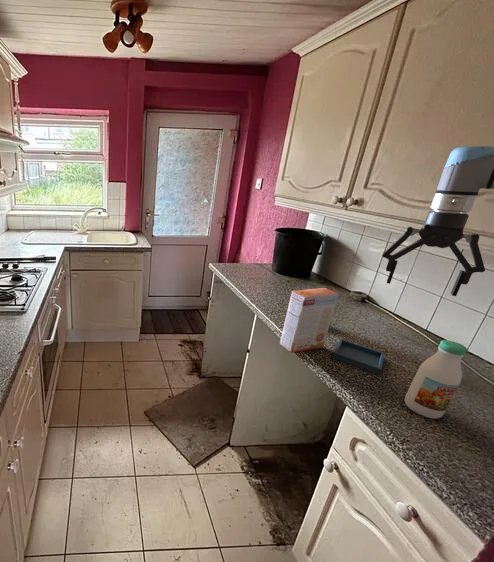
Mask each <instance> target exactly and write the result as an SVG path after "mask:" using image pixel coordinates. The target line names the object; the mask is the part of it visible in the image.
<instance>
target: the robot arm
mask: <svg viewBox="0 0 494 562" xmlns="http://www.w3.org/2000/svg"><path fill="white" fill-rule="evenodd" d="M481 189H483V190H484V189H485V190H494V146H490V145H488V146H487V145H485V146H484V145H480V146H479V145H475V146H473V145H472V146H459V147H456V148H454V149H453V150H452V151H451V152H450V154H449V156H448V158H447V160H446V164H445V165H444V166H443V169H442V173H441V176H440V179H439V182H438V184H437V188H436V191H435V193H434V196H433V199H432V201H431V204H430V206H429V208H430V210H429V211H428V212H427V215H426V217H425V220H424V223H423V226H422V227H421V228H415V227H412V226H407V227H406V229H405V231H404V233H403V234H402V235H401V236H400V237H399V238H397V239H396V240H395V242H393V243H392V244H391V245H390V246H388V248H387V249H386V250H385V251H384V252H382V258H384V259H386V260H388V261H387V264H386V268H385V271H386V272H389V274H388V276H387V280H386V284H389V285H390V284H391V282H392V279H393V276H394V273H395V271H396V268H397V265H398V259H399V258H401V257H403V256H405V255H407V254H408V253H411V252H412V251H414V250H416V249H419V248H420V247H422V246H424V245H425V246H427V247H430V248H434V247H435V248H439V249H447V248H449V249H450V250H451V251H452V253H453V254H454V256H455V257H456V259H457V261H458V262H459V263H460V265H461V266H462V267H463V269H464V270H461V269H460V270H459V272H458V275H457V277H456V279H455V282H454V284H453V287H452V289H451V291H450V295H451V296H452V297H457V295H458V293H459V291H460V288H461V287H462V285H465V286H467V285H468V284H469V282H470V279H471V277H472V275H473V274H475V273H484V272H485V271H486V267H485V263H484V261H483V257H482V253H481V250H480V247H479V241H480V235H479V234H478V233H476V232H473V233H472V232H471V233H464V229H465V227H466V224H467V223H468V222H467V221H468V219H469V216H470V215H469V214H468V213H470V212H472V210H473V207H474V204H475V201H476V199H477V197H478V195H479V192H480V190H481ZM415 234H418V236H419V237H420V238H419V239H417V240H416V241H414V242H413V243H411V244H409V245H407V246H406V247H404V248H402V249H400V250H399V251H397V252H395V253H393V252H394V251H396V250H397V249H398V248H399V247H400V246H401V245H402V244H403V243H404V242H405V241H407V240H408V239H409V238H410V236H411V237H412V236H415ZM462 239H465V242H466V243H468V244H469V248H470V251H471V252H470V253H471V255H472V259H473V262H474V266H471V264H470V263H469V261H468V259H466V257H465V256H464V255H463V253H462V251H461V250H460V249H459V247H458V246H457V244H456V243H457V242H459V241H461V240H462Z"/></svg>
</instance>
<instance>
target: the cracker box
mask: <svg viewBox="0 0 494 562" xmlns="http://www.w3.org/2000/svg"><path fill="white" fill-rule="evenodd" d="M339 295H340V294H339V293H338V292H336V291H333V290H331V289H329V288H327V287H320V288H319V287H318V288H310V289H309V288H308V289H299V290H292V291H291V294H290V297H289V302H288V307H287V311H286V314H285V315H286V316H285V319H284V322H283V323H284V324H283V327H282V332H281V336H280V340H279V345H280V346H281V347H282V348H284V349H285V350H287V351H288V352H290V353H296V352H297V353H298V352H304V351H309V350H310V351H311V350H316V349H321V348H324V345H325V342H326V339H327V336H328V333H329V329H330V324H331V322H332V319H333V316H334V312H335V309H336V305H337V302H338V299H339Z"/></svg>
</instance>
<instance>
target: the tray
mask: <svg viewBox="0 0 494 562" xmlns="http://www.w3.org/2000/svg"><path fill="white" fill-rule="evenodd" d="M384 358H385V352H383V351H380V350H376V349H373V348H371V347H367V346H365V345H364V346H363V345H361V344H358V343H355V342H352V341H349V340H347V339H346V340H345V339H344V338H343V339H342V338H340V339H339V341H338V344H337V346H336V348H335V351H334V353H333V356H332V359H335V360H338V361H339V362H342V363H346V364H348V365H352V366H353V367H356V368H359V369H361V370H365V371H366V372H367V371H368V372H370V373H373V374H376V375H379V376H380V374H381V372H382V369H383V363H384Z"/></svg>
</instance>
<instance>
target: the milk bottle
mask: <svg viewBox="0 0 494 562" xmlns="http://www.w3.org/2000/svg"><path fill="white" fill-rule="evenodd" d="M437 349H438V350H437V351H436V352H435V353H434V354H433V355H431V356H430V357H428V358H427V359H425V360H424V361H423V362H422V363H421V364H420V366H419V367H418V369H417V371H416V373H415V376H414V377H413V379H412V381H411V383H410V386H409V388H408V389H407V392H406V394H405V396H404V403H405V405H406V406H407V408H409V409H410V410H412V411H413V412H414V413H416V414H418V415H420V416H423V417H426V418H429V419H436V420H437V419H440V418H442V417H443V416H444V415H445V413H446V411H447V409H448V407H449V405H450V404H451V402H452V400H453V398H454V396H455V394H456V392H457V391H458V388H459V386H460V384H461V382H462V378H463V371H462V366H461V365H462V363H461V362H462V358H464V357H465V355H466V354H467V352H468V348H467V347H466V346H465V345H463V344H462V343H459V342H456V341H453V340H448V339H443V340H441V341H440V342H439V345H438V347H437Z"/></svg>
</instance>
